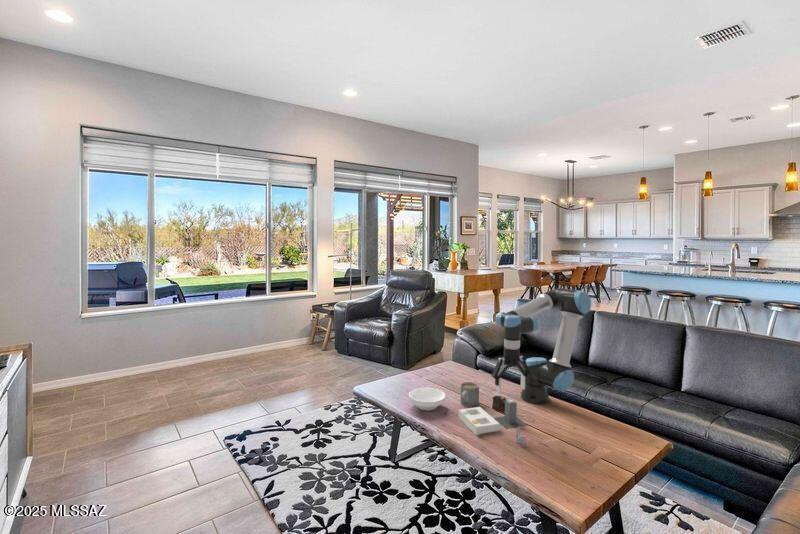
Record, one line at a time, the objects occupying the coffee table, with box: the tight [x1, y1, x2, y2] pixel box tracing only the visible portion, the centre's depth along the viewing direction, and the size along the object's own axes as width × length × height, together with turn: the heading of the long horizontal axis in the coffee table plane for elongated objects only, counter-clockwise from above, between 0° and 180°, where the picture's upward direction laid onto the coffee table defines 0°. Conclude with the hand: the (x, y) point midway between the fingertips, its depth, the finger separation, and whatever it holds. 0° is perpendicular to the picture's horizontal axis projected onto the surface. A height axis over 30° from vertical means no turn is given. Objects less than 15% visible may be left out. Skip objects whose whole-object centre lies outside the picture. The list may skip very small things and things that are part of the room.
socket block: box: [457, 406, 501, 436], centre depth 193 cm, size 12×19×4 cm, turn 17°
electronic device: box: [491, 395, 507, 414], centre depth 208 cm, size 4×10×8 cm, turn 44°
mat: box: [493, 415, 528, 430], centre depth 195 cm, size 12×12×1 cm
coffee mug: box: [459, 381, 480, 408], centre depth 216 cm, size 13×10×10 cm
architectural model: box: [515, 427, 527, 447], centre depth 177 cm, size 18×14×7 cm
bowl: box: [408, 387, 446, 411], centre depth 211 cm, size 20×20×7 cm
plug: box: [504, 399, 518, 424], centre depth 194 cm, size 4×4×11 cm
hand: (510, 390), depth 194 cm, fingers open, 13 cm apart
